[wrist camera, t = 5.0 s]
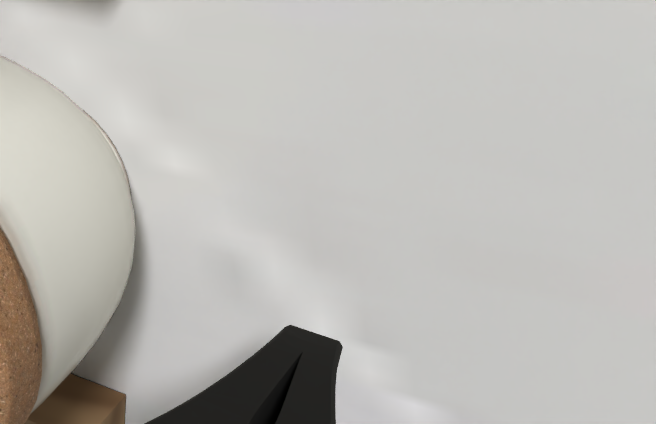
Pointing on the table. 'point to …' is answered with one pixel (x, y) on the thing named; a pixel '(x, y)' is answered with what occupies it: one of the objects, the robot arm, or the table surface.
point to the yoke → (80, 404)
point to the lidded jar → (55, 237)
